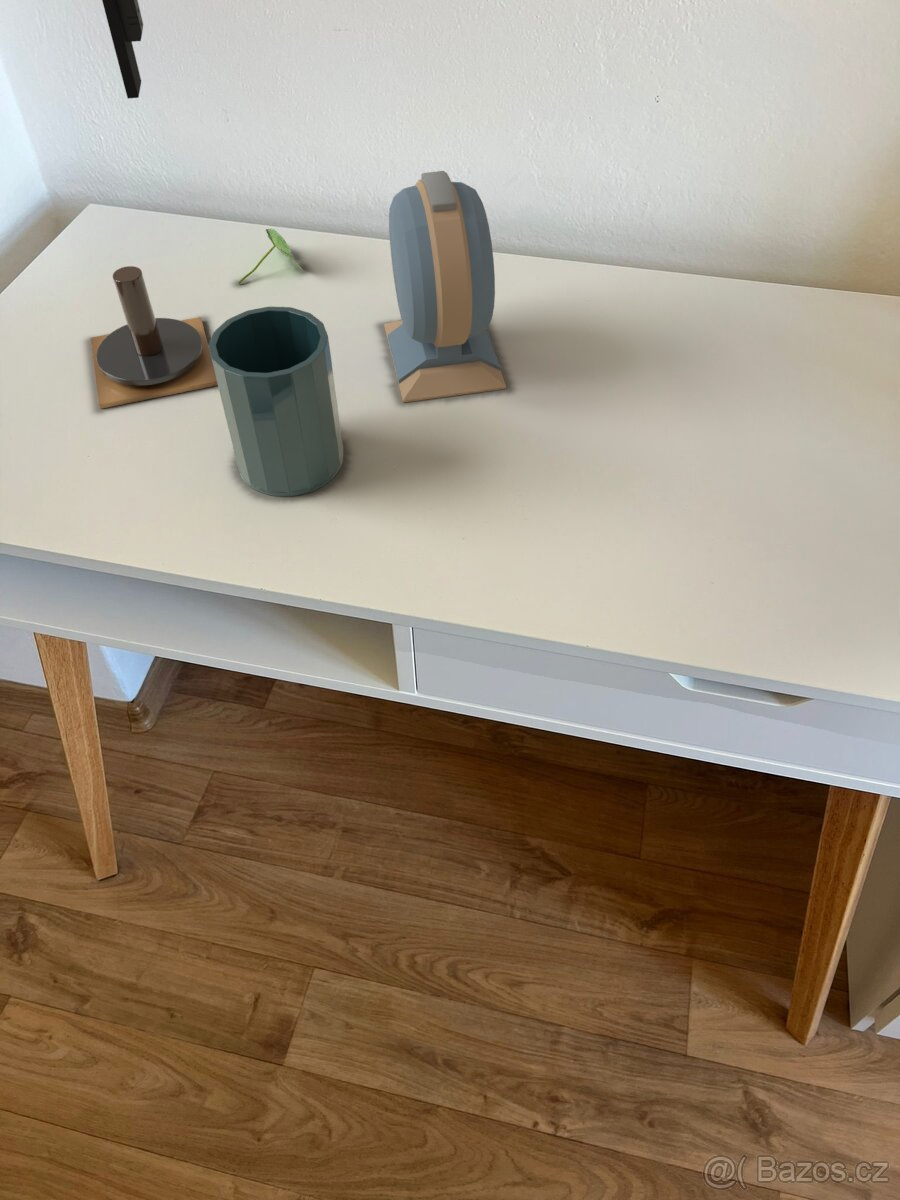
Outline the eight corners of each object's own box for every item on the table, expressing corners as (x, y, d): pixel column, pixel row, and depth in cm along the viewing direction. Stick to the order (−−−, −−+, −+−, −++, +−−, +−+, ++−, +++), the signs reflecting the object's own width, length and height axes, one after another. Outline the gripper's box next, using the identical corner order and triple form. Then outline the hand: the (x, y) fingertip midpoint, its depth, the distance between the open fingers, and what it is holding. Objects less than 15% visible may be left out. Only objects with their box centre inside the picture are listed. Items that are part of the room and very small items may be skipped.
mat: (100, 409, 93) (98, 404, 93) (91, 341, 100) (90, 337, 100) (218, 385, 95) (217, 381, 95) (201, 320, 102) (200, 316, 102)
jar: (247, 506, 85) (218, 387, 75) (230, 438, 90) (201, 318, 81) (354, 483, 86) (338, 363, 77) (330, 417, 92) (313, 297, 82)
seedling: (268, 311, 111) (308, 267, 111) (262, 307, 103) (305, 259, 103) (218, 264, 110) (258, 218, 109) (208, 256, 102) (251, 207, 101)
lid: (154, 404, 93) (127, 318, 86) (77, 369, 96) (46, 284, 89) (225, 348, 98) (206, 263, 91) (150, 317, 102) (126, 233, 95)
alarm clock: (508, 395, 93) (514, 217, 80) (404, 409, 92) (392, 231, 79) (477, 308, 102) (478, 135, 89) (382, 320, 101) (368, 147, 88)
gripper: (143, -331, 57) (217, 61, 74) (-313, -309, 56) (-134, 87, 72) (133, -307, 53) (214, 107, 69) (-366, -282, 51) (-162, 135, 67)
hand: (36, 97), depth 70 cm, fingers open, 13 cm apart
